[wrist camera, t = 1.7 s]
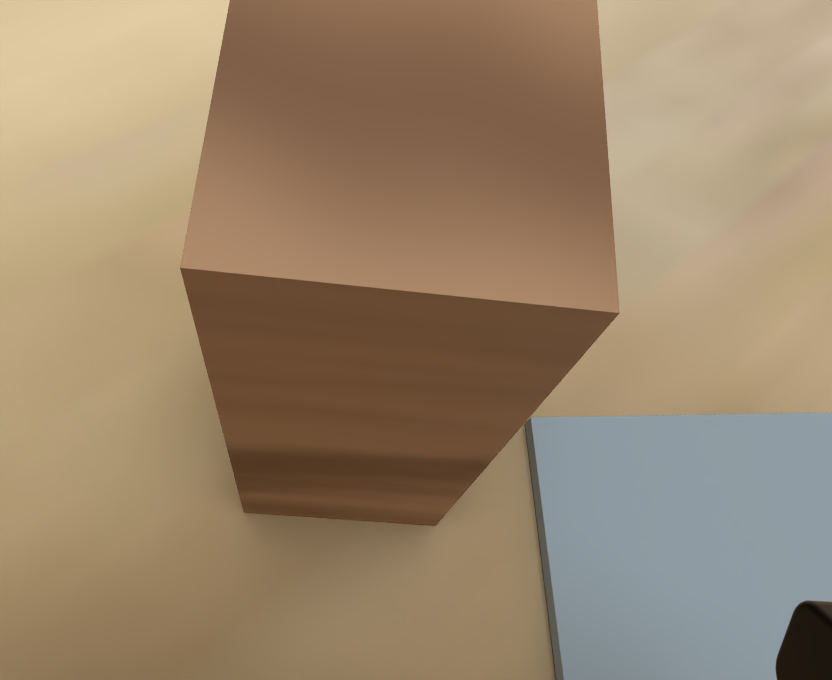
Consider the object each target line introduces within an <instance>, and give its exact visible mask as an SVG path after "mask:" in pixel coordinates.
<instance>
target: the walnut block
mask: <svg viewBox="0 0 832 680" xmlns="http://www.w3.org/2000/svg"><path fill="white" fill-rule="evenodd" d="M180 269H181V273H182V277H183V280H184V284H185V288H186V292H187V296H188V300H189V303H190V307H191V311H192V315H193V319H194V323H195V326H196V330H197V334H198V338H199V342H200V346H201V349H202V353H203V357H204V361H205V365H206V369H207V373H208V376H209V380H210V384H211V388H212V392H213V396H214V399H215V403H216V407H217V411H218V415H219V419H220V422H221V426H222V430H223V434H224V438H225V442H226V445H227V449H228V453H229V457H230V461H231V465H232V468H233V472H234V476H235V480H236V484H237V488H238V492H239V495H240V499H241V503H242V507H243V511H244V512H245V513H260V514H274V515H288V516H303V517H317V518H331V519H346V520H360V521H375V522H389V523H403V524H418V525H432V526H436V525H437V523H438V522H439V521H440V520H441V519H442V518H443V517H444V515H445V514H446V513H447V512H448V511H449V510H450V508H451V507H452V506H453V505H454V504H455V503H456V501H457V500H458V499H459V498H460V497H461V496H462V495H463V493H464V492H465V491H466V490H467V489H468V488H469V486H470V485H471V484H472V483H473V482H474V481H475V480H476V478H477V477H478V476H479V475H480V474H481V473H482V471H483V470H484V469H485V468H486V467H487V466H488V464H489V463H490V462H491V461H492V460H493V459H494V458H495V456H496V455H497V454H498V453H499V452H500V451H501V449H502V448H503V447H504V446H505V445H506V444H507V443H508V441H509V440H510V439H511V438H512V437H513V436H514V434H515V433H516V432H517V431H518V430H519V429H520V427H521V426H522V425H523V424H524V423H525V422H526V421H527V419H528V418H529V417H530V416H531V415H532V414H533V412H534V411H535V410H536V409H537V408H538V407H539V405H540V404H541V403H542V402H543V401H544V400H545V399H546V397H547V396H548V395H549V394H550V393H551V392H552V390H553V389H554V388H555V387H556V386H557V385H558V384H559V382H560V381H561V380H562V379H563V378H564V377H565V375H566V374H567V373H568V372H569V371H570V370H571V368H572V367H573V366H574V365H575V364H576V363H577V362H578V360H579V359H580V358H581V357H582V356H583V355H584V353H585V352H586V351H587V350H588V349H589V348H590V347H591V345H592V344H593V343H594V342H595V341H596V340H597V338H598V337H599V336H600V335H601V334H602V333H603V331H604V330H605V329H606V328H607V327H608V326H609V325H610V323H611V322H612V321H613V320H614V319H615V318H616V316H617V315H618V314H619V299H618V286H617V272H616V258H615V244H614V230H613V217H612V203H611V189H610V175H609V161H608V148H607V134H606V120H605V106H604V92H603V79H602V65H601V51H600V37H599V23H598V9H597V0H230V3H229V8H228V14H227V19H226V24H225V30H224V35H223V40H222V46H221V51H220V57H219V62H218V67H217V73H216V78H215V83H214V89H213V94H212V100H211V105H210V110H209V116H208V121H207V126H206V132H205V137H204V143H203V148H202V153H201V159H200V164H199V169H198V175H197V180H196V185H195V191H194V196H193V202H192V207H191V212H190V218H189V223H188V228H187V234H186V239H185V245H184V250H183V255H182V261H181V266H180Z"/></svg>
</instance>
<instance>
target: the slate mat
mask: <svg viewBox="0 0 832 680" xmlns="http://www.w3.org/2000/svg"><path fill="white" fill-rule="evenodd" d="M525 428H526V436H527V444H528V453H529V461H530V469H531V477H532V485H533V493H534V501H535V510H536V518H537V526H538V534H539V542H540V550H541V559H542V567H543V575H544V583H545V591H546V599H547V607H548V616H549V624H550V632H551V640H552V648H553V656H554V664H555V673H556V680H777V677H776V658H777V655H778V652H779V649H780V647H781V644H782V641H783V638H784V636H785V633H786V630H787V628H788V625H789V622H790V619H791V617H792V614H793V611H794V609H795V607H796V606H797V605H798V604H799V603H801V602H803V601H807V600H811V601H828V602H832V413H776V414H714V415H653V416H591V417H531V418H530V419H529V420H528V421H527V422H526V424H525Z"/></svg>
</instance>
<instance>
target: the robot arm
mask: <svg viewBox="0 0 832 680" xmlns="http://www.w3.org/2000/svg"><path fill="white" fill-rule="evenodd" d="M776 677H777V680H832V602H828V601H811V600H807V601H803V602H801V603H799V604H798V605H797V606H796V607H795V609H794V611H793V614H792V617H791V619H790V622H789V625H788V628H787V630H786V633H785V636H784V638H783V641H782V644H781V647H780V649H779V652H778V655H777V658H776Z"/></svg>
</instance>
